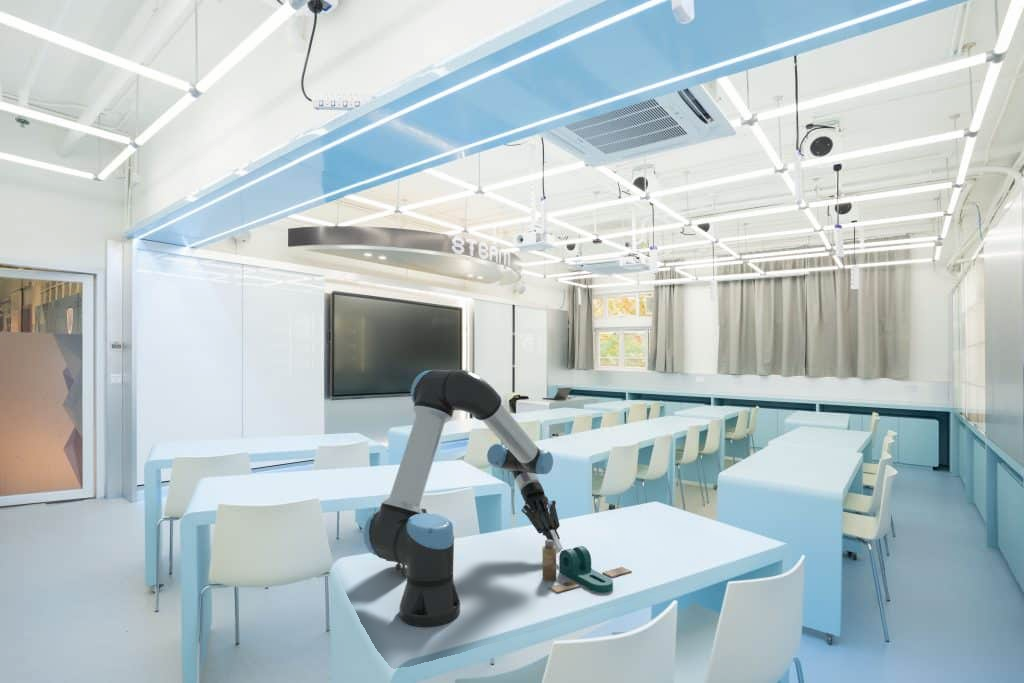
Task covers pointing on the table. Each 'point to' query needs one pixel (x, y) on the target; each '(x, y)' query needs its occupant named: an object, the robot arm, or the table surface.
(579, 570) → the bracket
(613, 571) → the wooden slat
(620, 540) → the table surface
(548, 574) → the tan cylinder gray tip
